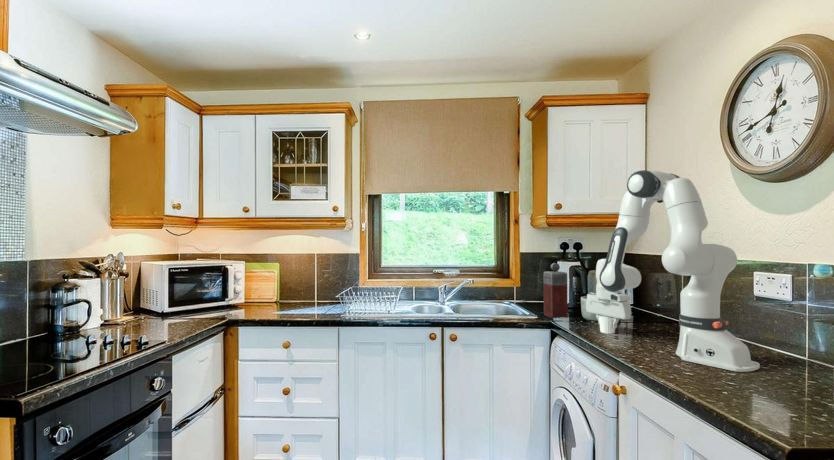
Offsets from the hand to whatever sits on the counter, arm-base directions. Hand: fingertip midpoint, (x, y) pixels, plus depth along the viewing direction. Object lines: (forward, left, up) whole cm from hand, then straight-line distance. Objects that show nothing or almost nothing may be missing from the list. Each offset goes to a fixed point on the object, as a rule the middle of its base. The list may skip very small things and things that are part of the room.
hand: (607, 326), depth 170 cm
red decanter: (+38, -8, -3) cm, 39 cm away
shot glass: (0, 0, -3) cm, 3 cm away
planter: (+22, -19, -3) cm, 29 cm away
